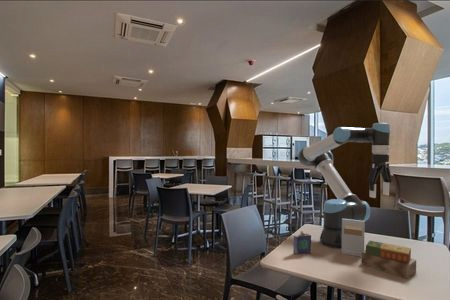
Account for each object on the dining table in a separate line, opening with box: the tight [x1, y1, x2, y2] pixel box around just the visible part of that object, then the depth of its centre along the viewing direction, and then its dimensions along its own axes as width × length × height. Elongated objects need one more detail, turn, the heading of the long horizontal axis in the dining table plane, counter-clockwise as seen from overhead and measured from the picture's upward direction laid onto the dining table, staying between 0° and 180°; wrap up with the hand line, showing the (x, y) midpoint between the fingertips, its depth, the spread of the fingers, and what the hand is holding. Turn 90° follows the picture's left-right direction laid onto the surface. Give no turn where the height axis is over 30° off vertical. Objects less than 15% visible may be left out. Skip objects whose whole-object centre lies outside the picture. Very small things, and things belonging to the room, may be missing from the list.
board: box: [340, 219, 366, 258], centre depth 133 cm, size 5×10×16 cm, turn 64°
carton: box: [365, 240, 412, 263], centre depth 118 cm, size 8×16×4 cm, turn 52°
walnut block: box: [360, 249, 417, 279], centre depth 118 cm, size 18×10×5 cm, turn 38°
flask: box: [292, 230, 312, 256], centre depth 133 cm, size 9×3×11 cm, turn 105°
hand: (379, 196), depth 136 cm, fingers open, 13 cm apart
